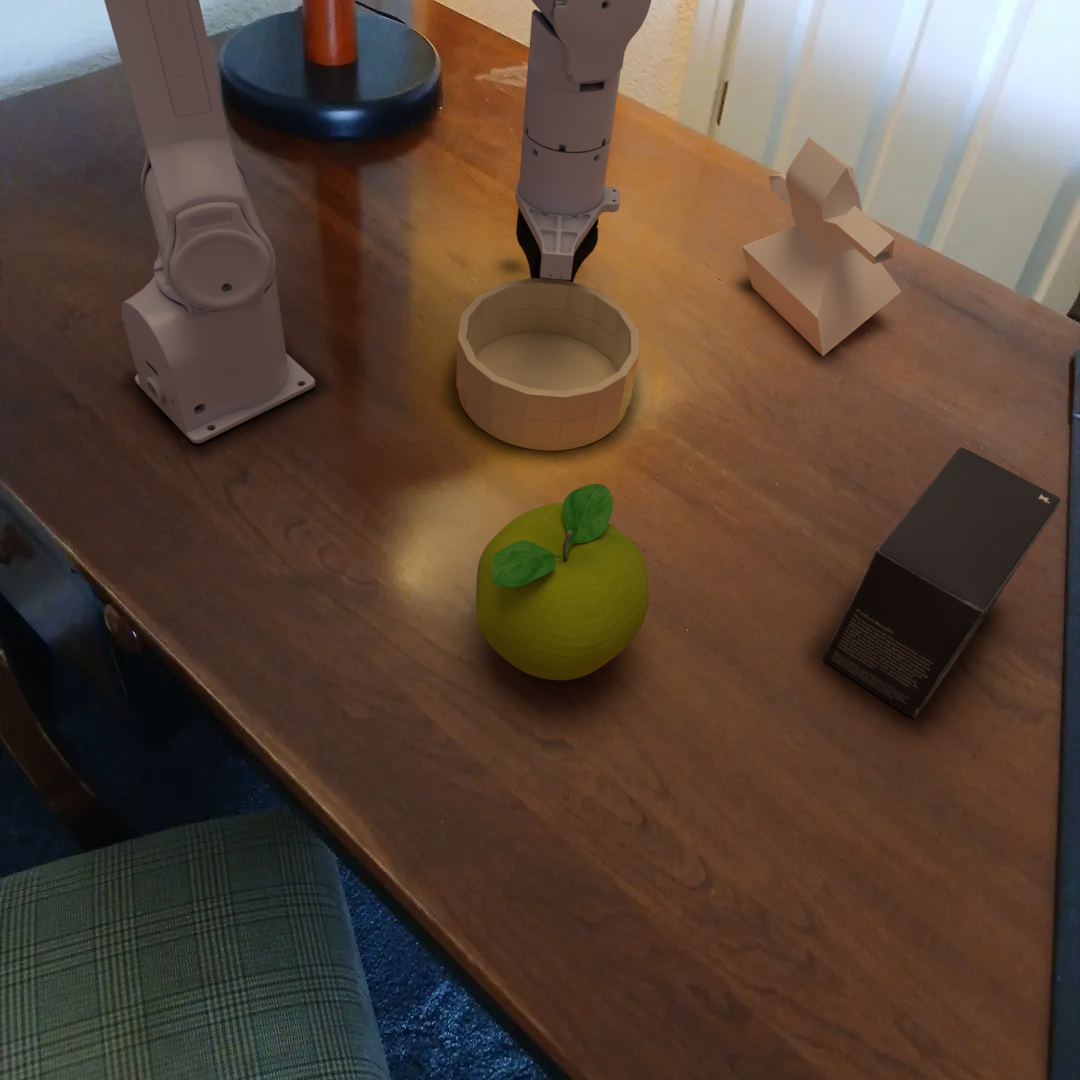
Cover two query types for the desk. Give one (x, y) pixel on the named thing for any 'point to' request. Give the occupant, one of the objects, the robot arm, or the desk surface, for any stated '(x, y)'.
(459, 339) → the bowl
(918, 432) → the desk surface
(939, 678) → the small box
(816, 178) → the beige block sculpture
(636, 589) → the fruit
